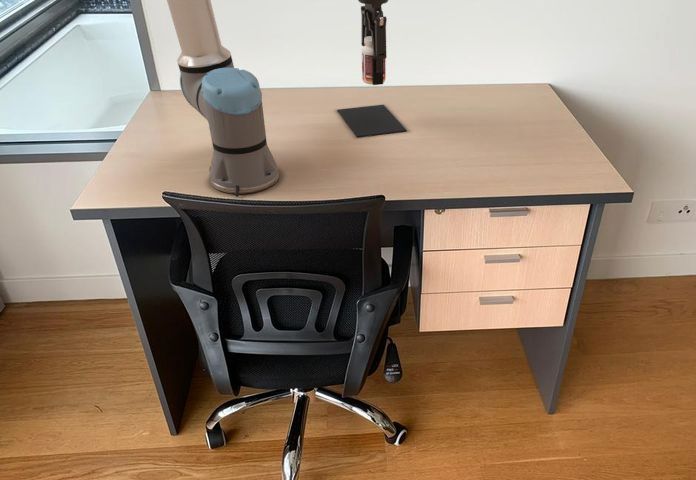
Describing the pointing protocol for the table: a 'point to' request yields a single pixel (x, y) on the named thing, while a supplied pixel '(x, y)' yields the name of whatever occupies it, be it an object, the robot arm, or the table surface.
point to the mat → (371, 120)
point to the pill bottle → (369, 61)
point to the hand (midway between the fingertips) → (373, 79)
